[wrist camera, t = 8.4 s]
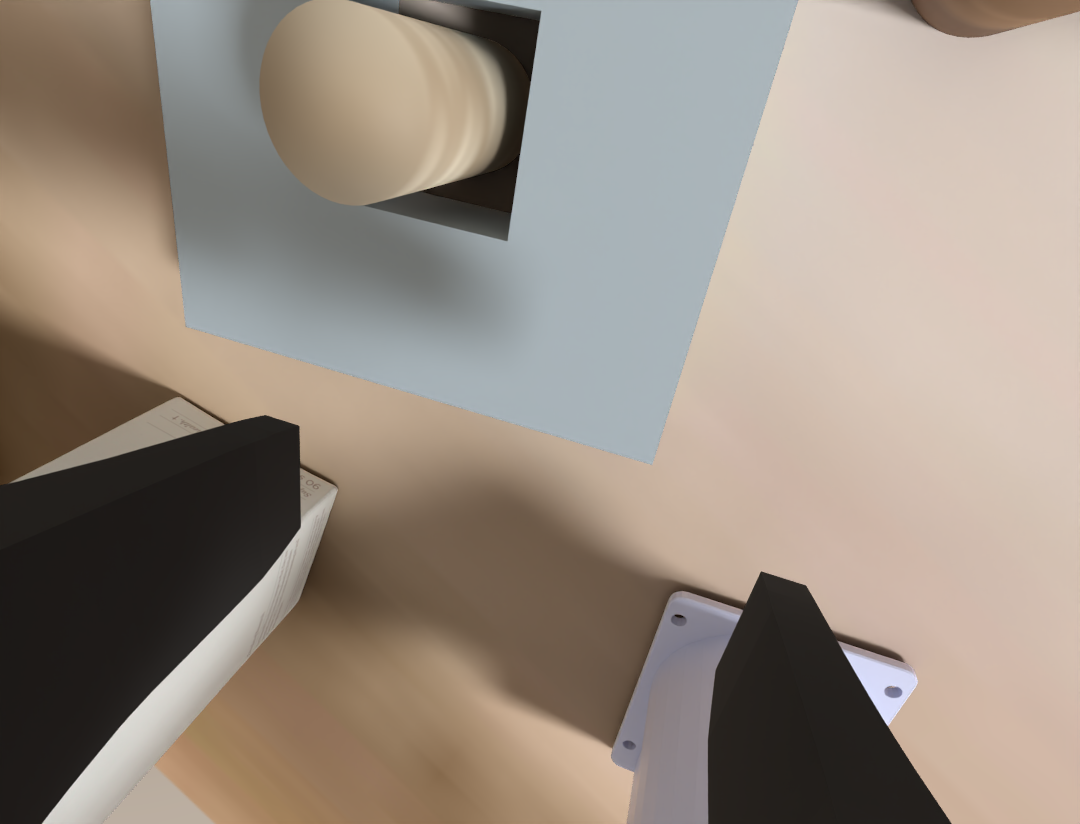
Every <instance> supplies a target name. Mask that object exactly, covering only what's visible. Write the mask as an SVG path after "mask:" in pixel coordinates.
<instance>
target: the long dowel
mask: <svg viewBox="0 0 1080 824" xmlns="http://www.w3.org/2000/svg"><path fill="white" fill-rule="evenodd" d="M530 85H531V84H530V81H529V78H528V76H527V74H526V72H525V70H524V68H523V66H522V65H521V63H520V62H519V61H518V59H517V58H516V57H515V56H514V55H513V54H512V53H511V52H510V51H509V50H508V49H506V48H505V47H504V46H502V45H500V44H499V43H497V42H494V41H492V40H489V39H486V38H482V37H478V36H475V35H471V34H468V33H464V32H461V31H457V30H453V29H450V28H446V27H443V26H439V25H435V24H432V23H428V22H425V21H421V20H417V19H414V18H410V17H407V16H403V15H400V14H396V13H392V12H389V11H385V10H382V9H378V8H374V7H371V6H367V5H364V4H360V3H356V2H353V1H349V0H312V1H309V2H306V3H304V4H302V5H300V6H298V7H296V8H295V9H294V10H292V11H291V12H289V13H288V14H287V15H286V16H285V17H284V18H283V19H282V20H281V21H280V23H279V24H278V25H277V27H276V28H275V30H274V31H273V33H272V35H271V37H270V39H269V41H268V43H267V46H266V48H265V51H264V54H263V59H262V63H261V69H260V79H259V89H260V102H261V109H262V113H263V118H264V122H265V125H266V128H267V131H268V134H269V136H270V139H271V141H272V143H273V145H274V147H275V149H276V151H277V153H278V155H279V156H280V158H281V159H282V161H283V162H284V164H285V165H286V166H287V168H288V169H289V170H290V171H291V172H292V174H293V175H294V176H295V177H296V178H297V179H298V180H299V181H300V182H301V183H302V184H303V185H305V186H306V187H307V188H309V189H310V190H311V191H313V192H314V193H316V194H318V195H319V196H321V197H323V198H325V199H328V200H330V201H332V202H336V203H339V204H344V205H351V206H362V205H368V204H373V203H377V202H380V201H384V200H388V199H392V198H395V197H399V196H403V195H406V194H410V193H414V192H418V191H421V190H425V189H429V188H433V187H436V186H440V185H444V184H447V183H451V182H455V181H459V180H462V179H466V178H470V177H474V176H477V175H481V174H485V173H488V172H492V171H495V170H498V169H500V168H502V167H504V166H506V165H507V164H509V163H510V162H511V161H512V160H513V159H515V158H516V157H517V155H518V154H519V153H520V152H521V146H522V139H523V133H524V126H525V119H526V112H527V106H528V99H529V92H530Z"/></svg>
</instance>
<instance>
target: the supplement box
mask: <svg viewBox="0 0 1080 824" xmlns="http://www.w3.org/2000/svg"><path fill="white" fill-rule="evenodd" d="M222 425H225V424H223V423H221V422H220V421H218V420H216V419H215V418H213V417H211V416H210V415H208V414H207V413H205V412H203V411H202V410H200V409H198V408H197V407H195V406H194V405H192V404H191V403H189V402H187V401H186V400H184V399H182V398H181V397H175V398H173V399H171V400H169V401H167V402H165V403H163V404H161V405H159V406H157V407H155V408H153V409H151V410H149V411H147V412H145V413H143V414H142V415H140V416H138V417H136V418H134V419H132V420H130V421H128V422H126V423H124V424H122V425H120V426H118V427H116V428H114V429H112V430H110V431H109V432H107V433H105V434H103V435H101V436H99V437H97V438H95V439H93V440H91V441H89V442H87V443H85V444H83V445H81V446H79V447H77V448H76V449H74V450H72V451H70V452H68V453H66V454H64V455H62V456H60V457H58V458H57V459H55V460H53V461H51V462H49V463H47V464H45V465H43V466H41V467H39V468H37V469H35V470H33V471H31V472H29V473H27V474H25V475H24V476H22V477H20V478H18V479H16V480H14V481H12V482H10V483H13V482H17V481H21V480H25V479H29V478H33V477H37V476H41V475H45V474H48V473H52V472H56V471H60V470H64V469H68V468H72V467H76V466H80V465H83V464H87V463H91V462H95V461H99V460H103V459H107V458H110V457H114V456H117V455H121V454H124V453H128V452H131V451H135V450H138V449H142V448H145V447H149V446H152V445H156V444H159V443H163V442H166V441H170V440H173V439H177V438H180V437H183V436H187V435H190V434H194V433H197V432H201V431H204V430H208V429H211V428H215V427H218V426H222ZM337 490H338V489H337V487H336V486H335V485H332V484H330V483H328V482H326V481H325V480H322V479H320V478H318V477H316V476H314V475H312V474H310V473H309V472H307V471H305V470H303V469H301V468H300V496H301V528H300V529H299V531H298V532H297V534H296V535H295V536H294V538H293V539H292V541H291V542H290V543H289V545H288V546H287V547H286V549H285V550H284V552H283V553H282V554H281V556H280V557H279V558H278V560H277V561H276V562H275V563H274V565H273V566H272V567H271V569H270V570H269V571H268V572H267V574H266V575H265V576H264V578H263V579H262V580H261V581H260V582H259V583H258V584H257V585H256V586H255V587H254V588H253V589H252V590H251V592H250V593H249V594H248V595H247V596H246V597H245V598H244V599H243V600H242V601H241V602H240V603H239V604H238V605H237V606H236V607H235V608H234V609H233V610H232V611H231V612H230V613H229V614H228V615H227V616H226V617H225V618H224V619H223V620H222V621H221V622H220V623H219V624H218V626H217V627H216V628H215V629H214V630H213V631H212V632H211V633H210V634H209V635H208V636H207V637H206V638H205V639H204V640H203V641H202V642H201V643H200V644H199V645H198V646H197V647H196V648H195V649H194V650H193V651H192V652H191V653H190V654H189V655H188V656H187V657H186V658H185V659H184V660H183V661H182V662H181V663H180V664H179V665H178V666H177V667H176V668H175V669H174V670H173V671H172V672H171V673H170V674H169V675H168V676H167V677H166V678H165V679H164V680H163V681H162V682H161V683H160V684H159V685H158V686H157V687H156V688H155V689H154V690H153V691H152V692H151V693H150V695H149V696H148V697H147V698H146V699H145V700H144V701H143V702H142V703H141V704H140V705H139V707H138V708H137V709H136V710H135V711H134V712H133V713H132V714H131V715H130V716H129V717H128V719H127V720H126V721H125V722H124V723H123V724H122V725H121V726H120V728H119V729H118V730H117V731H116V733H115V734H114V735H113V736H112V737H111V739H110V740H109V741H108V742H107V743H106V745H105V746H104V747H103V748H102V750H101V751H100V752H99V753H98V754H97V756H96V757H95V758H94V759H93V760H92V762H91V763H90V764H89V765H88V767H87V768H86V769H85V770H84V771H83V773H82V774H81V775H80V776H79V778H78V779H77V780H76V781H75V782H74V784H73V785H72V786H71V787H70V788H69V790H68V791H67V792H66V794H65V795H64V796H63V797H62V799H61V800H60V801H59V803H58V804H57V805H56V806H55V808H54V809H53V810H52V811H51V813H50V814H49V815H48V817H47V818H46V819H45V820H44V822H43V823H42V824H102V823H103V822H104V821H105V820H106V819H107V818H108V817H109V816H110V815H111V813H112V812H113V811H114V810H115V809H116V808H117V807H118V805H119V804H120V803H121V802H122V801H123V800H124V799H125V798H126V796H127V795H128V794H129V793H130V792H131V791H132V790H133V788H134V787H135V786H136V785H137V784H138V783H139V781H141V779H142V778H143V777H144V776H145V775H146V774H147V773H148V771H149V770H150V769H151V768H152V767H153V766H154V765H155V764H156V762H157V761H158V760H159V759H160V758H161V757H162V756H163V754H164V753H165V752H166V751H167V750H168V749H169V748H170V747H171V745H172V744H173V743H174V742H175V741H176V740H177V739H178V738H179V736H180V735H181V734H182V733H183V732H184V731H185V730H186V728H187V727H188V726H189V725H190V724H191V723H192V722H193V721H194V719H195V718H196V717H197V716H198V715H199V714H200V713H201V711H202V710H203V709H204V708H205V707H206V706H207V705H208V703H209V702H210V701H211V700H212V699H213V698H214V697H215V696H216V694H217V693H218V692H219V691H220V690H221V689H222V688H223V686H224V685H225V684H226V683H227V682H228V681H229V680H230V679H231V677H232V676H233V675H234V674H235V673H236V672H237V671H238V669H239V668H240V667H241V666H242V665H243V664H244V663H245V662H246V660H247V659H248V658H249V657H250V656H251V655H252V654H253V652H254V651H255V650H256V649H257V648H258V647H259V646H260V645H261V643H262V642H263V641H264V640H265V639H266V638H267V637H268V636H269V634H270V633H271V632H272V631H273V630H274V629H275V628H276V627H277V625H278V624H279V623H280V622H281V621H282V620H283V619H284V618H285V616H286V615H287V614H288V613H289V612H290V611H291V610H292V608H293V607H294V606H295V605H296V604H297V602H298V601H299V599H300V596H301V593H302V591H303V588H304V585H305V583H306V579H307V577H308V574H309V571H310V568H311V565H312V563H313V560H314V557H315V554H316V551H317V549H318V546H319V543H320V540H321V538H322V535H323V532H324V529H325V526H326V524H327V521H328V518H329V514H330V511H331V509H332V507H333V503H334V500H335V497H336V494H337Z"/></svg>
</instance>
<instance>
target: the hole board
mask: <svg viewBox="0 0 1080 824" xmlns="http://www.w3.org/2000/svg"><path fill="white" fill-rule="evenodd" d="M309 1H312V0H150V4H151V13H152V22H153V31H154V40H155V49H156V59H157V68H158V77H159V86H160V95H161V104H162V113H163V122H164V132H165V141H166V150H167V159H168V168H169V177H170V186H171V196H172V205H173V214H174V223H175V232H176V241H177V250H178V259H179V269H180V278H181V287H182V296H183V305H184V314H185V323H186V327H189V328H192V329H195V330H199V331H202V332H205V333H209V334H212V335H216V336H219V337H222V338H226V339H229V340H232V341H236V342H239V343H243V344H246V345H249V346H253V347H256V348H259V349H263V350H266V351H270V352H273V353H276V354H280V355H283V356H286V357H290V358H293V359H297V360H300V361H303V362H307V363H310V364H313V365H317V366H320V367H324V368H327V369H330V370H334V371H337V372H340V373H344V374H347V375H351V376H354V377H357V378H361V379H364V380H367V381H371V382H374V383H378V384H381V385H384V386H388V387H391V388H394V389H398V390H401V391H405V392H408V393H411V394H415V395H418V396H421V397H425V398H428V399H432V400H435V401H438V402H442V403H445V404H448V405H452V406H455V407H458V408H462V409H465V410H469V411H472V412H475V413H479V414H482V415H485V416H489V417H492V418H496V419H499V420H502V421H506V422H509V423H512V424H516V425H519V426H523V427H526V428H529V429H533V430H536V431H539V432H543V433H546V434H550V435H553V436H556V437H560V438H563V439H566V440H570V441H573V442H577V443H580V444H583V445H587V446H590V447H593V448H597V449H600V450H604V451H607V452H610V453H614V454H617V455H620V456H624V457H627V458H631V459H634V460H637V461H641V462H644V463H647V464H651V465H652V464H653V461H654V457H655V454H656V451H657V448H658V445H659V442H660V438H661V435H662V432H663V429H664V426H665V423H666V419H667V416H668V413H669V410H670V407H671V403H672V400H673V397H674V394H675V391H676V388H677V384H678V381H679V378H680V375H681V372H682V368H683V365H684V362H685V359H686V356H687V353H688V349H689V346H690V343H691V340H692V337H693V333H694V330H695V327H696V324H697V321H698V318H699V314H700V311H701V308H702V305H703V302H704V298H705V295H706V292H707V289H708V286H709V283H710V279H711V276H712V273H713V270H714V267H715V263H716V260H717V257H718V254H719V251H720V248H721V244H722V241H723V238H724V235H725V232H726V228H727V225H728V222H729V219H730V216H731V213H732V209H733V206H734V203H735V200H736V197H737V194H738V190H739V187H740V184H741V181H742V178H743V174H744V171H745V168H746V165H747V162H748V159H749V155H750V152H751V149H752V146H753V143H754V139H755V136H756V133H757V130H758V127H759V124H760V120H761V117H762V114H763V111H764V108H765V104H766V101H767V98H768V95H769V92H770V89H771V85H772V82H773V79H774V76H775V73H776V69H777V66H778V63H779V60H780V57H781V54H782V50H783V47H784V44H785V41H786V38H787V34H788V31H789V28H790V25H791V22H792V19H793V15H794V12H795V9H796V6H797V3H798V0H431V1H437V2H442V3H447V4H453V5H458V6H464V7H469V8H474V9H480V10H485V11H490V12H496V13H501V14H506V15H512V16H517V17H522V18H528V19H533V20H539V21H540V24H539V31H538V38H537V44H536V51H535V58H534V65H533V72H532V78H531V85H530V92H529V99H528V106H527V112H526V119H525V126H524V133H523V139H522V146H521V153H520V160H519V167H518V173H517V180H516V187H515V194H514V200H513V207H512V214H511V213H507V212H503V211H499V210H494V209H490V208H486V207H482V206H478V205H474V204H469V203H465V202H461V201H457V200H453V199H449V198H444V197H440V196H436V195H432V194H428V193H424V192H419V191H418V192H414V193H410V194H406V195H403V196H399V197H395V198H392V199H388V200H384V201H380V202H377V203H373V204H368V205H362V206H351V205H344V204H339V203H336V202H332V201H330V200H328V199H325V198H323V197H321V196H319V195H318V194H316V193H314V192H313V191H311V190H310V189H309V188H307V187H306V186H305V185H303V184H302V183H301V182H300V181H299V180H298V179H297V178H296V177H295V176H294V175H293V174H292V172H291V171H290V170H289V169H288V168H287V166H286V165H285V164H284V162H283V161H282V159H281V158H280V156H279V155H278V153H277V151H276V149H275V147H274V145H273V143H272V141H271V139H270V136H269V134H268V131H267V128H266V125H265V122H264V118H263V113H262V109H261V102H260V89H259V79H260V69H261V63H262V59H263V54H264V51H265V48H266V46H267V43H268V41H269V39H270V37H271V35H272V33H273V31H274V30H275V28H276V27H277V25H278V24H279V23H280V21H281V20H282V19H283V18H284V17H285V16H286V15H287V14H288V13H289V12H291V11H292V10H294V9H295V8H296V7H298V6H300V5H302V4H304V3H306V2H309ZM349 1H353V2H356V3H360V4H364V5H367V6H371V7H374V8H378V9H382V10H385V11H389V12H392V13H396V14H399V0H349Z"/></svg>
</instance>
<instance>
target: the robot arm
mask: <svg viewBox="0 0 1080 824" xmlns="http://www.w3.org/2000/svg"><path fill="white" fill-rule="evenodd" d="M300 528H301V496H300V436H299V426H298V425H295V424H292V423H288V422H285V421H282V420H279V419H276V418H273V417H269V416H266V415H264V416H259V417H254V418H249V419H245V420H241V421H237V422H233V423H230V424H226V425H222V426H218V427H215V428H211V429H208V430H204V431H201V432H197V433H194V434H190V435H187V436H183V437H180V438H177V439H173V440H170V441H166V442H163V443H159V444H156V445H152V446H149V447H145V448H142V449H138V450H135V451H131V452H128V453H124V454H121V455H117V456H114V457H110V458H107V459H103V460H99V461H95V462H91V463H87V464H83V465H80V466H76V467H72V468H68V469H64V470H60V471H56V472H52V473H48V474H45V475H41V476H37V477H33V478H29V479H25V480H21V481H17V482H13V483H8V484H4V485H0V824H42V823H43V822H44V820H45V819H46V818H47V817H48V815H49V814H50V813H51V811H52V810H53V809H54V808H55V806H56V805H57V804H58V803H59V801H60V800H61V799H62V797H63V796H64V795H65V794H66V792H67V791H68V790H69V788H70V787H71V786H72V785H73V784H74V782H75V781H76V780H77V779H78V778H79V776H80V775H81V774H82V773H83V771H84V770H85V769H86V768H87V767H88V765H89V764H90V763H91V762H92V760H93V759H94V758H95V757H96V756H97V754H98V753H99V752H100V751H101V750H102V748H103V747H104V746H105V745H106V743H107V742H108V741H109V740H110V739H111V737H112V736H113V735H114V734H115V733H116V731H117V730H118V729H119V728H120V726H121V725H122V724H123V723H124V722H125V721H126V720H127V719H128V717H129V716H130V715H131V714H132V713H133V712H134V711H135V710H136V709H137V708H138V707H139V705H140V704H141V703H142V702H143V701H144V700H145V699H146V698H147V697H148V696H149V695H150V693H151V692H152V691H153V690H154V689H155V688H156V687H157V686H158V685H159V684H160V683H161V682H162V681H163V680H164V679H165V678H166V677H167V676H168V675H169V674H170V673H171V672H172V671H173V670H174V669H175V668H176V667H177V666H178V665H179V664H180V663H181V662H182V661H183V660H184V659H185V658H186V657H187V656H188V655H189V654H190V653H191V652H192V651H193V650H194V649H195V648H196V647H197V646H198V645H199V644H200V643H201V642H202V641H203V640H204V639H205V638H206V637H207V636H208V635H209V634H210V633H211V632H212V631H213V630H214V629H215V628H216V627H217V626H218V624H219V623H220V622H221V621H222V620H223V619H224V618H225V617H226V616H227V615H228V614H229V613H230V612H231V611H232V610H233V609H234V608H235V607H236V606H237V605H238V604H239V603H240V602H241V601H242V600H243V599H244V598H245V597H246V596H247V595H248V594H249V593H250V592H251V590H252V589H253V588H254V587H255V586H256V585H257V584H258V583H259V582H260V581H261V580H262V579H263V578H264V576H265V575H266V574H267V572H268V571H269V570H270V569H271V567H272V566H273V565H274V563H275V562H276V561H277V560H278V558H279V557H280V556H281V554H282V553H283V552H284V550H285V549H286V547H287V546H288V545H289V543H290V542H291V541H292V539H293V538H294V536H295V535H296V534H297V532H298V531H299V529H300ZM676 614H679V615H682V616H684V618H677V617H676V616H674V615H676ZM917 683H918V681H917V677H916V674H915V671H914V669H913V668H912V667H911V666H910V665H908V664H906V663H904V662H901V661H898V660H895V659H892V658H889V657H885V656H882V655H879V654H876V653H873V652H870V651H867V650H864V649H861V648H858V647H855V646H852V645H849V644H846V643H843V642H839V641H837V639H836V638H835V636H834V634H833V632H832V630H831V629H830V627H829V625H828V623H827V622H826V620H825V618H824V616H823V614H822V613H821V611H820V609H819V607H818V606H817V604H816V602H815V600H814V598H813V597H812V595H811V593H810V592H809V590H808V588H807V586H806V585H802V584H799V583H796V582H793V581H790V580H787V579H783V578H780V577H777V576H774V575H771V574H768V573H764V572H761V573H760V575H759V577H758V579H757V581H756V584H755V586H754V588H753V590H752V592H751V594H750V597H749V599H748V601H747V603H746V605H745V607H744V610H741V609H738V608H735V607H732V606H729V605H726V604H723V603H720V602H717V601H714V600H711V599H708V598H705V597H702V596H699V595H695V594H692V593H689V592H685V591H678V592H675V593H673V594H672V595H671V596H670V598H669V600H668V603H667V605H666V608H665V610H664V613H663V616H662V618H661V621H660V624H659V626H658V629H657V632H656V634H655V637H654V640H653V642H652V645H651V648H650V650H649V653H648V655H647V658H646V661H645V663H644V666H643V669H642V671H641V674H640V677H639V679H638V682H637V685H636V687H635V690H634V693H633V695H632V698H631V701H630V703H629V706H628V708H627V711H626V714H625V716H624V719H623V722H622V724H621V727H620V730H619V732H618V735H617V738H616V740H615V743H614V746H613V748H612V754H611V758H612V760H613V762H614V763H615V764H616V765H618V766H620V767H622V768H625V769H627V770H630V771H633V772H634V777H633V784H632V790H631V797H630V804H629V811H628V817H627V824H951V822H950V821H949V819H948V818H947V816H946V815H945V813H944V812H943V810H942V809H941V807H940V806H939V804H938V803H937V801H936V800H935V798H934V797H933V795H932V794H931V792H930V791H929V789H928V788H927V786H926V785H925V784H924V782H923V781H922V779H921V778H920V776H919V775H918V773H917V772H916V770H915V769H914V767H913V765H912V764H911V762H910V761H909V759H908V758H907V756H906V755H905V753H904V751H903V750H902V748H901V747H900V745H899V744H898V742H897V740H896V739H895V737H894V736H893V734H892V732H891V731H890V729H889V728H888V725H889V724H890V722H891V721H892V719H893V718H894V717H895V715H896V714H897V712H898V711H899V710H900V708H901V707H902V705H903V704H904V703H905V701H906V700H907V698H908V697H909V696H910V694H911V693H912V691H913V690H914V689H915V687H916V685H917ZM889 686H896V687H895V688H887V687H889Z"/></svg>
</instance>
